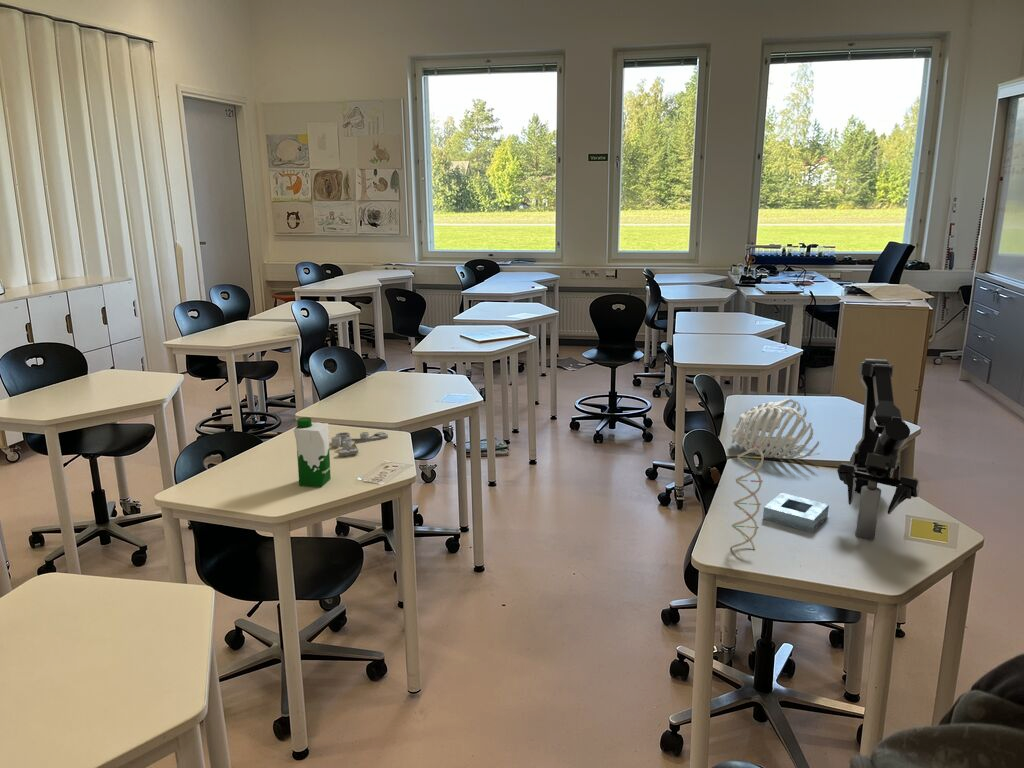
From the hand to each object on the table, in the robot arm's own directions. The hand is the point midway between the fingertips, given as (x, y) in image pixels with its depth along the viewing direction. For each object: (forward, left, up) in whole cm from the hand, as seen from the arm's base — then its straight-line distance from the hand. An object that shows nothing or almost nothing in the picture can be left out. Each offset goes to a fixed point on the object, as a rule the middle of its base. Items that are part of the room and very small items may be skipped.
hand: (868, 508), depth 185 cm
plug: (0, 0, -8) cm, 8 cm away
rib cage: (-3, -65, -8) cm, 66 cm away
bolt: (+28, -45, -8) cm, 54 cm away
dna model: (+34, +5, -8) cm, 35 cm away
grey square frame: (+13, -12, -8) cm, 19 cm away
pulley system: (+141, -81, -9) cm, 163 cm away
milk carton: (+148, -45, -8) cm, 155 cm away
